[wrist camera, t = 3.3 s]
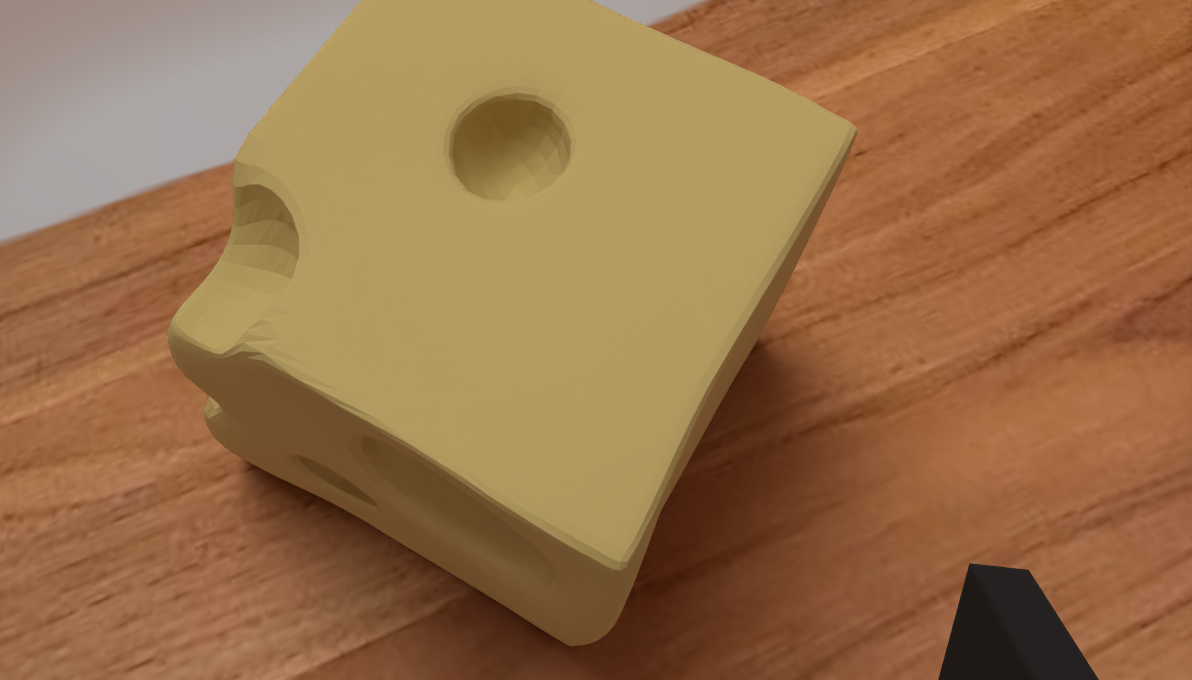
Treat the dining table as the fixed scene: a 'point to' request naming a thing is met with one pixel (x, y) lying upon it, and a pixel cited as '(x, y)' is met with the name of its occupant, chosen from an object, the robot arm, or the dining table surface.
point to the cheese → (504, 283)
